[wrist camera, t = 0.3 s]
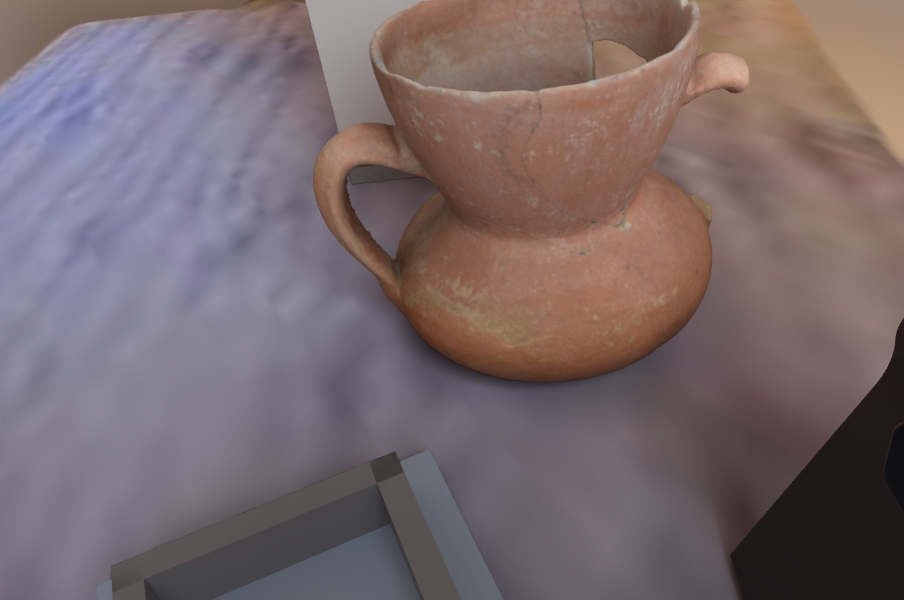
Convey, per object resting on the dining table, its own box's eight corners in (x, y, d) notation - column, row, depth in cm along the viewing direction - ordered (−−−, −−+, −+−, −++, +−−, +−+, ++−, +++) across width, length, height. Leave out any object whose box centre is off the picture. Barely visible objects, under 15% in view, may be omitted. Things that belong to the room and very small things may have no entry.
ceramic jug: (674, 196, 42) (687, -75, 33) (788, 379, 31) (854, 48, 22) (360, 253, 43) (289, 1, 34) (363, 454, 32) (257, 159, 23)
